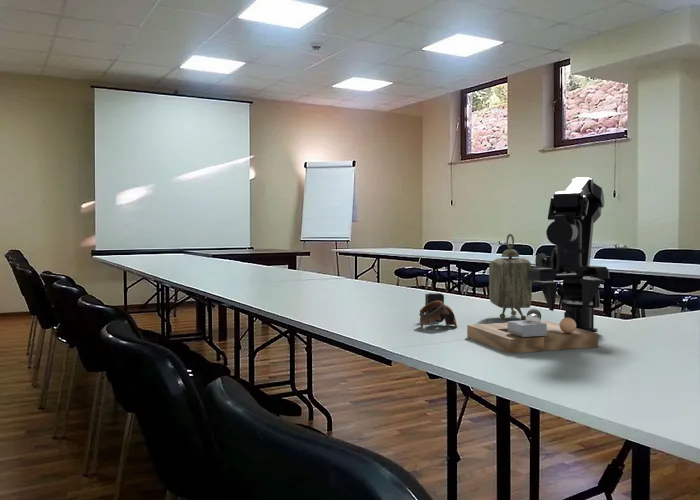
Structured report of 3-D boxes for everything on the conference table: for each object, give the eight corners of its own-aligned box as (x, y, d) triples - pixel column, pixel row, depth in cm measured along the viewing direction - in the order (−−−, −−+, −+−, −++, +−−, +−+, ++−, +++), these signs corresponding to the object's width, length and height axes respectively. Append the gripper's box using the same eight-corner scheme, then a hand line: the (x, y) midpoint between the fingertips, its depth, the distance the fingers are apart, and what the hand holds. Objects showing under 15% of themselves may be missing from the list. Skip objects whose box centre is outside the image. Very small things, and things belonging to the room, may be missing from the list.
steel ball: (535, 327, 140) (535, 312, 140) (544, 329, 137) (544, 314, 137) (522, 328, 139) (522, 313, 139) (530, 330, 136) (530, 315, 136)
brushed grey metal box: (531, 330, 134) (531, 319, 134) (546, 335, 128) (546, 323, 128) (507, 332, 132) (507, 321, 132) (522, 336, 126) (522, 325, 126)
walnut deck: (545, 332, 151) (545, 320, 150) (598, 346, 131) (598, 333, 131) (467, 337, 145) (467, 324, 145) (509, 353, 126) (509, 339, 125)
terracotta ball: (569, 331, 134) (569, 316, 134) (579, 334, 131) (579, 318, 131) (556, 332, 133) (556, 316, 133) (565, 334, 130) (565, 319, 130)
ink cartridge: (440, 319, 173) (441, 292, 173) (443, 321, 171) (444, 293, 171) (424, 320, 172) (425, 293, 172) (427, 321, 170) (428, 293, 170)
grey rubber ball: (536, 321, 149) (536, 307, 149) (544, 323, 146) (544, 309, 145) (523, 322, 148) (523, 308, 148) (531, 324, 145) (531, 310, 144)
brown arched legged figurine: (462, 332, 155) (448, 306, 153) (429, 347, 157) (415, 321, 155) (456, 314, 167) (443, 289, 165) (425, 328, 168) (412, 304, 166)
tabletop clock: (531, 322, 166) (531, 233, 165) (499, 322, 166) (499, 234, 166) (517, 315, 181) (517, 233, 180) (488, 315, 181) (488, 233, 180)
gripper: (580, 242, 150) (580, 303, 151) (515, 244, 145) (515, 307, 146) (610, 243, 140) (610, 309, 140) (541, 245, 135) (541, 313, 135)
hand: (568, 309), depth 141 cm, fingers open, 9 cm apart
